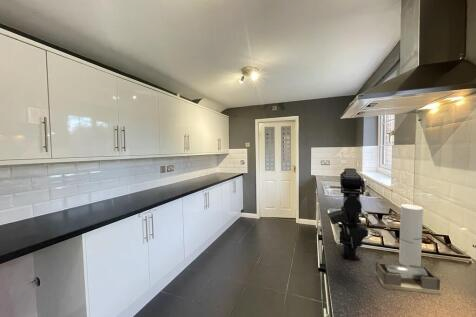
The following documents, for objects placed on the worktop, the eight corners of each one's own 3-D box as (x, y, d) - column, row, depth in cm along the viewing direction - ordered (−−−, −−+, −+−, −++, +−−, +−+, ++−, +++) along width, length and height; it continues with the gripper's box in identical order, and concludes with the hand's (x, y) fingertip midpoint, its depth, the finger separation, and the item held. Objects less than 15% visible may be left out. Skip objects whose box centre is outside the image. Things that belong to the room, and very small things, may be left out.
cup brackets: (375, 271, 82) (375, 262, 82) (425, 276, 78) (425, 266, 78) (384, 284, 75) (384, 274, 74) (439, 290, 71) (440, 279, 70)
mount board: (374, 273, 82) (374, 270, 82) (424, 278, 79) (424, 275, 79) (384, 288, 74) (384, 284, 74) (440, 294, 70) (440, 291, 70)
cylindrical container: (424, 269, 84) (427, 209, 82) (405, 267, 85) (407, 209, 83) (413, 259, 91) (415, 204, 89) (395, 258, 92) (397, 204, 90)
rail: (420, 275, 77) (421, 265, 76) (427, 283, 73) (428, 273, 73) (384, 272, 80) (384, 262, 79) (389, 279, 76) (389, 269, 75)
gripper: (325, 198, 93) (325, 231, 94) (335, 212, 75) (334, 253, 76) (352, 199, 90) (351, 233, 92) (369, 214, 72) (368, 256, 74)
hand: (350, 243), depth 83 cm, fingers open, 9 cm apart
